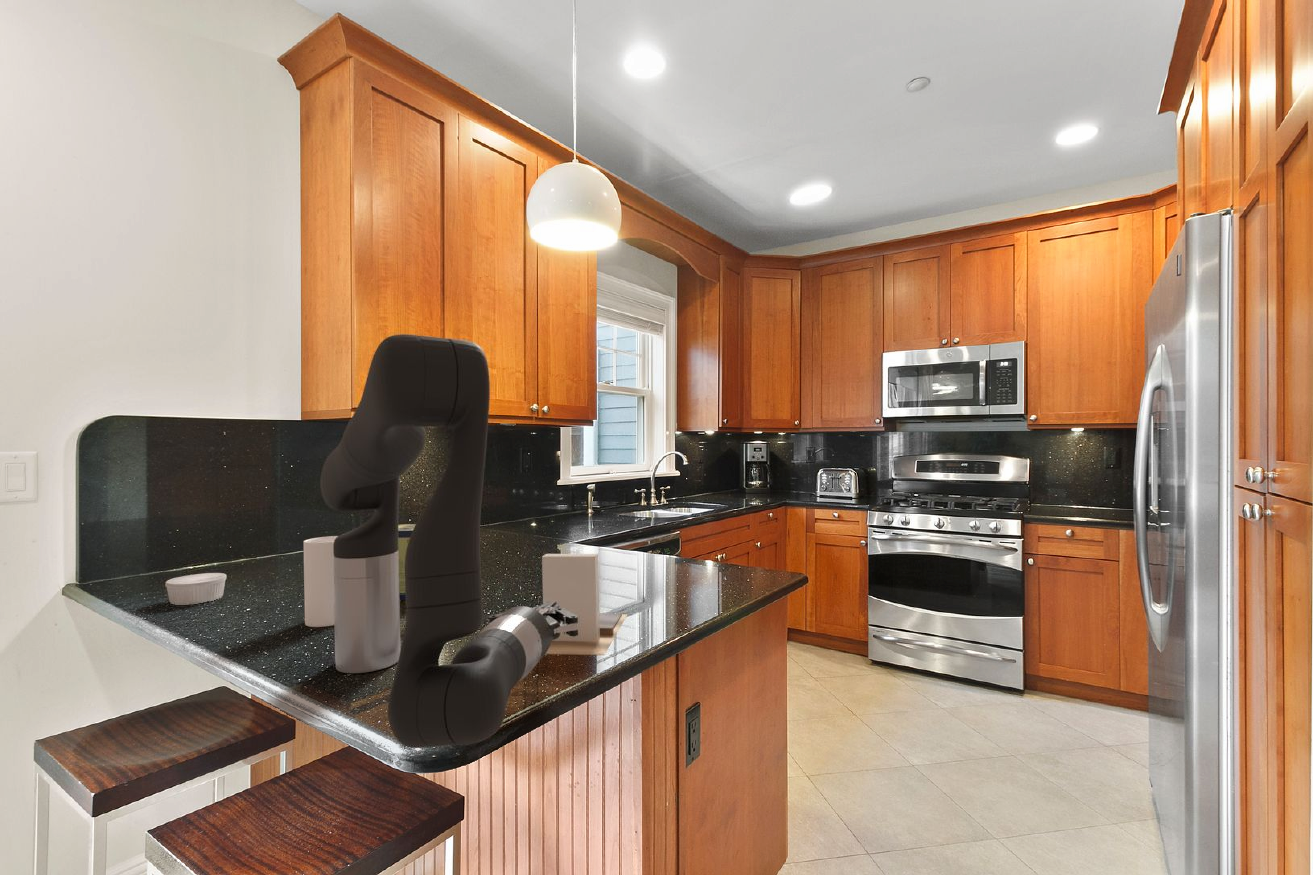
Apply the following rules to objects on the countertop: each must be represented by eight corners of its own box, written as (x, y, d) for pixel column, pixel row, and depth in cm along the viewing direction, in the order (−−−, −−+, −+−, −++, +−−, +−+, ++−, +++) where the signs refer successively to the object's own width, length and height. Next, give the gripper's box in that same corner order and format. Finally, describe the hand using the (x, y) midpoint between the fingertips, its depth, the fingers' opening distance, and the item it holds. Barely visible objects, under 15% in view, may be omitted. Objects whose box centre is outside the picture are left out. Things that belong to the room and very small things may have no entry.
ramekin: (202, 607, 133) (202, 583, 133) (151, 608, 133) (151, 584, 133) (238, 594, 144) (238, 572, 144) (192, 595, 144) (191, 573, 144)
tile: (596, 641, 101) (595, 556, 101) (543, 640, 102) (542, 556, 102) (600, 635, 104) (598, 553, 104) (549, 634, 105) (547, 553, 105)
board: (604, 661, 94) (603, 646, 94) (516, 659, 96) (516, 645, 96) (627, 619, 116) (627, 607, 116) (555, 618, 118) (555, 607, 118)
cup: (299, 621, 120) (298, 539, 120) (344, 612, 126) (342, 534, 126) (312, 629, 114) (310, 544, 114) (358, 620, 120) (356, 538, 120)
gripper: (563, 615, 73) (594, 582, 90) (458, 614, 75) (508, 582, 92) (565, 678, 73) (596, 633, 90) (459, 676, 75) (509, 632, 92)
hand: (551, 608), depth 91 cm, fingers closed
